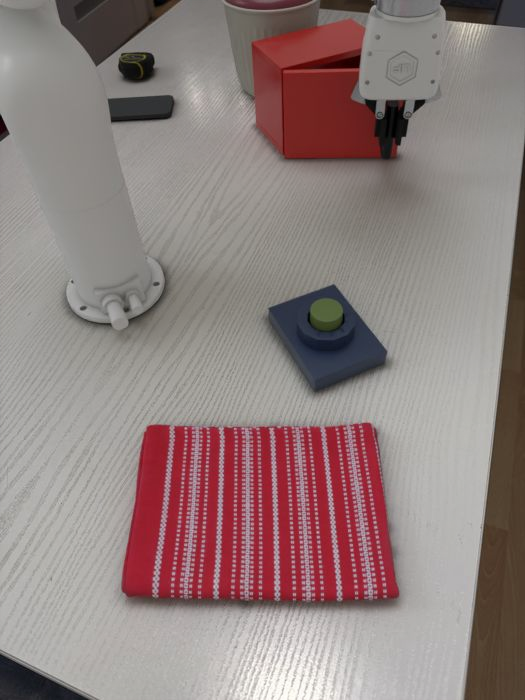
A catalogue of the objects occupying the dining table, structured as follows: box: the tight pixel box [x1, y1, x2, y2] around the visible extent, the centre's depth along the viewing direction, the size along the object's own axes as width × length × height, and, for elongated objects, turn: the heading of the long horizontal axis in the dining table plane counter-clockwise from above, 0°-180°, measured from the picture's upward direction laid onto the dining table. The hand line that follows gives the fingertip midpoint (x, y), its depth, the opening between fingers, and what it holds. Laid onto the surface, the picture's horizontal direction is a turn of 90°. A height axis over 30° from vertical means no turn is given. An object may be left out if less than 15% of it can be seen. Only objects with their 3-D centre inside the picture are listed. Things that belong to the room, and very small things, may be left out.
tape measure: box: [117, 51, 156, 80], centre depth 110 cm, size 7×7×4 cm
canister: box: [219, 0, 321, 98], centre depth 97 cm, size 18×18×21 cm
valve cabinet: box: [251, 18, 366, 156], centre depth 90 cm, size 11×18×14 cm, turn 114°
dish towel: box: [121, 421, 400, 603], centre depth 50 cm, size 17×24×3 cm
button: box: [310, 298, 343, 332], centre depth 61 cm, size 4×4×2 cm
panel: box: [267, 283, 388, 393], centre depth 62 cm, size 12×9×4 cm
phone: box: [107, 94, 175, 121], centre depth 102 cm, size 7×1×15 cm
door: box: [283, 68, 403, 160], centre depth 81 cm, size 7×18×14 cm, turn 87°
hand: (389, 140), depth 79 cm, fingers closed on door
